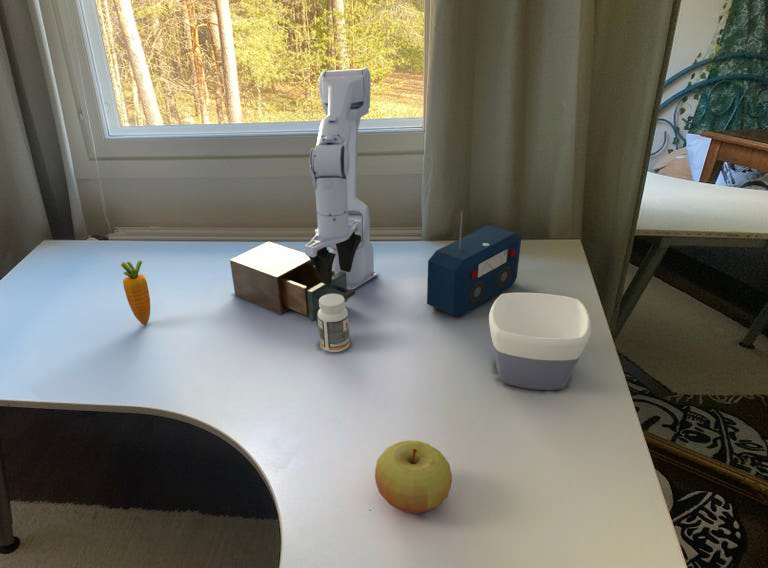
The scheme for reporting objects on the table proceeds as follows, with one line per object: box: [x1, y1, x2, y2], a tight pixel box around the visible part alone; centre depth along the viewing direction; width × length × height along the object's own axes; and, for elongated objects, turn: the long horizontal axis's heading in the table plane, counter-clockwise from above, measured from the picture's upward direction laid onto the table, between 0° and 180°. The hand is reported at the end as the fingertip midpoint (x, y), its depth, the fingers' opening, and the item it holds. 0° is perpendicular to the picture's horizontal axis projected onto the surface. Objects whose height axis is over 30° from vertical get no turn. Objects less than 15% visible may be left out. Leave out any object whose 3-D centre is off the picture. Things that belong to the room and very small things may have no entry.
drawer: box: [280, 263, 357, 323], centre depth 128 cm, size 18×10×7 cm, turn 46°
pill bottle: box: [317, 294, 351, 353], centre depth 116 cm, size 6×6×10 cm
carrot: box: [120, 260, 151, 326], centre depth 127 cm, size 5×5×15 cm
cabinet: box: [229, 241, 313, 315], centre depth 136 cm, size 15×12×9 cm
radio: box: [426, 210, 522, 317], centre depth 124 cm, size 21×9×20 cm, turn 129°
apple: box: [374, 440, 453, 514], centre depth 83 cm, size 10×10×8 cm
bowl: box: [488, 292, 592, 391], centre depth 103 cm, size 15×15×11 cm
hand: (336, 276), depth 122 cm, fingers open, 6 cm apart
